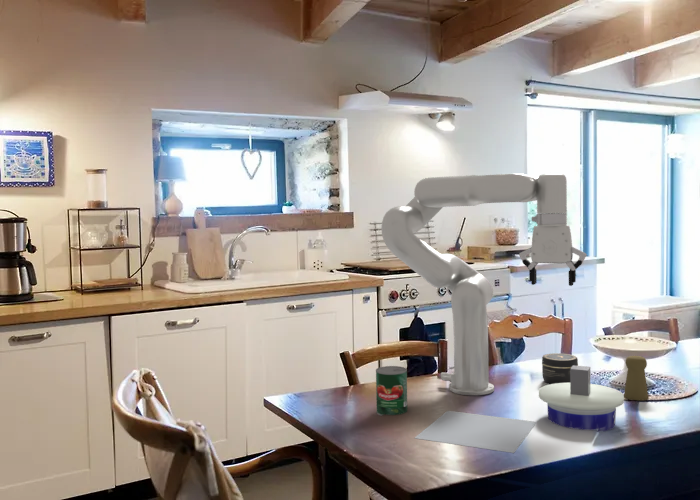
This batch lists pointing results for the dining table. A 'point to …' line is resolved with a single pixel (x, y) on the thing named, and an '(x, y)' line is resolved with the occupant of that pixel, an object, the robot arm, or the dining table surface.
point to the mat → (478, 431)
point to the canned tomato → (391, 390)
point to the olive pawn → (636, 378)
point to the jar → (557, 367)
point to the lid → (581, 393)
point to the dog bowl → (582, 418)
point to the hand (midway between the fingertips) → (552, 284)
